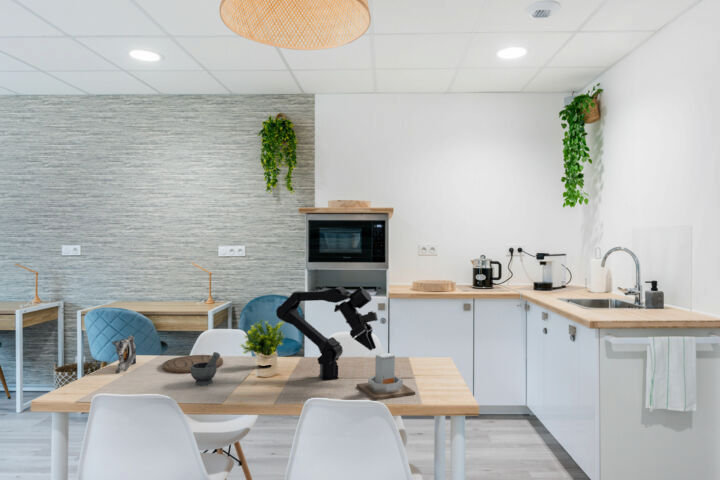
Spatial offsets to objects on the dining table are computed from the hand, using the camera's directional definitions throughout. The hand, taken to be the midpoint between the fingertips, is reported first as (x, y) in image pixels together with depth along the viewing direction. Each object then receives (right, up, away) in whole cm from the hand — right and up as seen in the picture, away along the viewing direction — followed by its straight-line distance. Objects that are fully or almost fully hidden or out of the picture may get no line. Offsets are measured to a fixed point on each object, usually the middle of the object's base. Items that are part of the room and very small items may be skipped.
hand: (373, 349), depth 175 cm
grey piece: (-106, -13, +19) cm, 108 cm away
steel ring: (+4, -13, -8) cm, 16 cm away
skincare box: (+4, -12, -8) cm, 15 cm away
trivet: (-78, -14, +24) cm, 83 cm away
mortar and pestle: (-64, -13, -1) cm, 66 cm away
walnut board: (+4, -13, -8) cm, 16 cm away
